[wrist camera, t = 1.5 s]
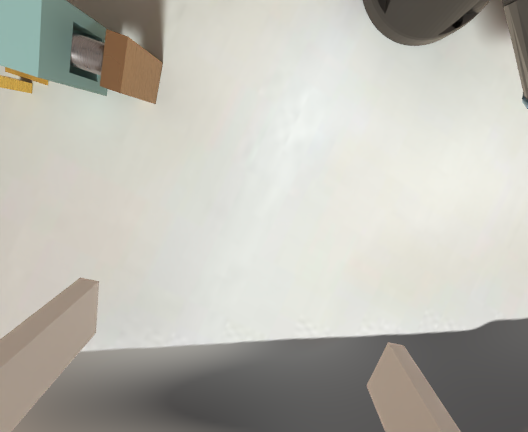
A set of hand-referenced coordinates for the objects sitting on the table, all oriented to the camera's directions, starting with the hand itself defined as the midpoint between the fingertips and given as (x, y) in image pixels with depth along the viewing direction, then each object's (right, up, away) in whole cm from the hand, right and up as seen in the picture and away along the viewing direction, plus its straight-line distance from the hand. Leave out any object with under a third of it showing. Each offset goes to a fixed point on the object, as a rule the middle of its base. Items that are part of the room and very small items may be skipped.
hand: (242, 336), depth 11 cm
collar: (-20, +24, +18) cm, 36 cm away
